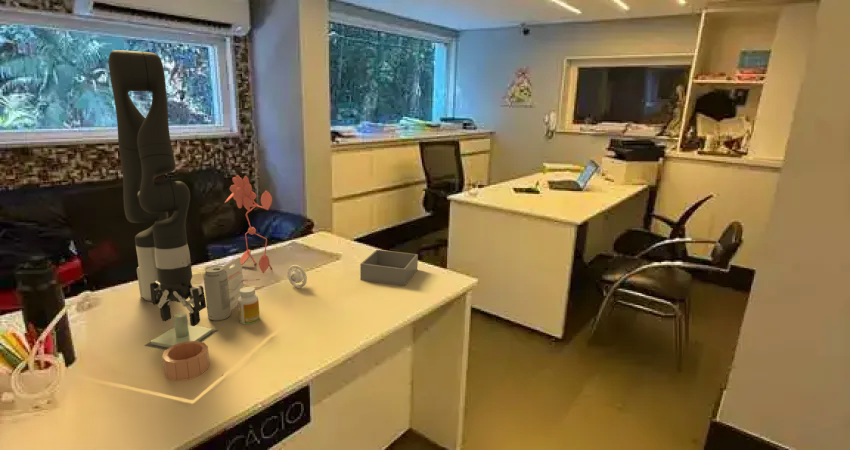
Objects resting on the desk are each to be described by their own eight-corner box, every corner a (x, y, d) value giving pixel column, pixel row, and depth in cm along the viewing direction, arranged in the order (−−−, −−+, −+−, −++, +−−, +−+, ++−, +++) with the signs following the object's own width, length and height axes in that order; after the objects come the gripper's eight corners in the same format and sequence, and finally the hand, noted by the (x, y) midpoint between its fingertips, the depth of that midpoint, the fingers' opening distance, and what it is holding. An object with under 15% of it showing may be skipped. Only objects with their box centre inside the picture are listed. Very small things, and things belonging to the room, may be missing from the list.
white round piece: (284, 286, 153) (283, 264, 151) (296, 281, 158) (295, 259, 156) (302, 292, 149) (302, 269, 147) (314, 286, 154) (313, 263, 152)
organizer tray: (360, 279, 161) (360, 263, 159) (376, 264, 176) (376, 249, 174) (404, 285, 157) (405, 269, 155) (417, 269, 172) (417, 254, 170)
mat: (144, 347, 115) (144, 345, 114) (180, 325, 126) (180, 323, 126) (185, 355, 112) (185, 353, 112) (218, 332, 123) (218, 330, 123)
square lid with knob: (151, 344, 115) (147, 321, 113) (180, 325, 124) (178, 304, 123) (184, 350, 113) (181, 327, 111) (212, 331, 122) (210, 310, 120)
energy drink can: (214, 312, 134) (209, 264, 129) (234, 313, 133) (230, 265, 129) (204, 322, 128) (198, 272, 124) (225, 323, 128) (220, 273, 123)
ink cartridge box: (230, 299, 142) (226, 254, 138) (245, 301, 141) (241, 256, 137) (213, 311, 134) (208, 264, 130) (228, 313, 133) (224, 266, 129)
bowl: (156, 378, 103) (153, 358, 101) (185, 357, 111) (183, 338, 110) (190, 385, 101) (187, 365, 99) (217, 363, 109) (215, 344, 108)
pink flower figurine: (243, 257, 178) (234, 168, 167) (289, 273, 164) (282, 176, 154) (206, 270, 165) (194, 174, 155) (252, 288, 152) (243, 184, 142)
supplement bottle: (263, 318, 131) (261, 287, 128) (251, 327, 126) (248, 294, 124) (248, 315, 133) (245, 284, 130) (235, 323, 128) (232, 291, 125)
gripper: (136, 264, 111) (145, 325, 115) (186, 270, 108) (194, 333, 112) (161, 254, 118) (169, 312, 122) (208, 260, 115) (214, 319, 119)
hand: (181, 322), depth 117 cm, fingers open, 8 cm apart
